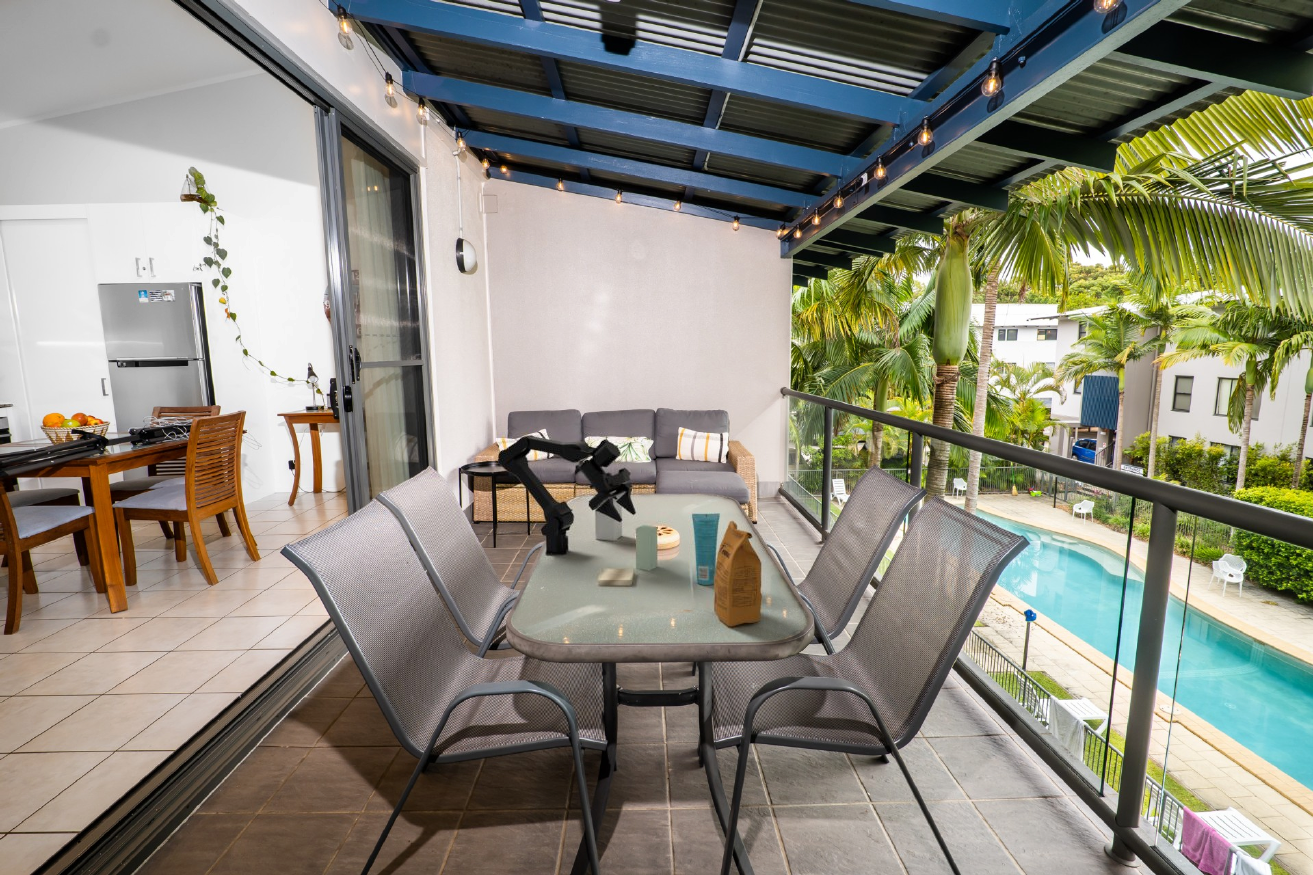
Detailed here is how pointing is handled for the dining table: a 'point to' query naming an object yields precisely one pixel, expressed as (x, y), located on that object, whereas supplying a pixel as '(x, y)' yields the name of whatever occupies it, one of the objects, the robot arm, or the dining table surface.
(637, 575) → the dining table surface
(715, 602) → the coffee package
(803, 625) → the dining table surface
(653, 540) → the post
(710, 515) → the tube
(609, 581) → the slab top
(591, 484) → the robot arm
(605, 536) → the milk carton
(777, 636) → the dining table surface
